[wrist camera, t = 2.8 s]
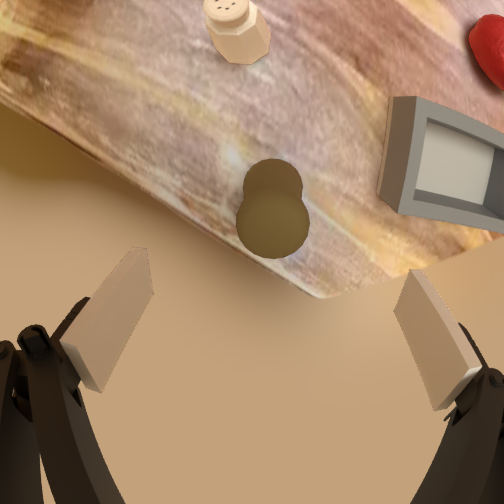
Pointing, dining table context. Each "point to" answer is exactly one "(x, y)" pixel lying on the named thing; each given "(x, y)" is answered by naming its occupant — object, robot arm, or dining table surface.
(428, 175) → the well block
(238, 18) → the pepper shaker
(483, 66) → the pomegranate
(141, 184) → the dining table surface
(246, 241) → the pepper shaker
